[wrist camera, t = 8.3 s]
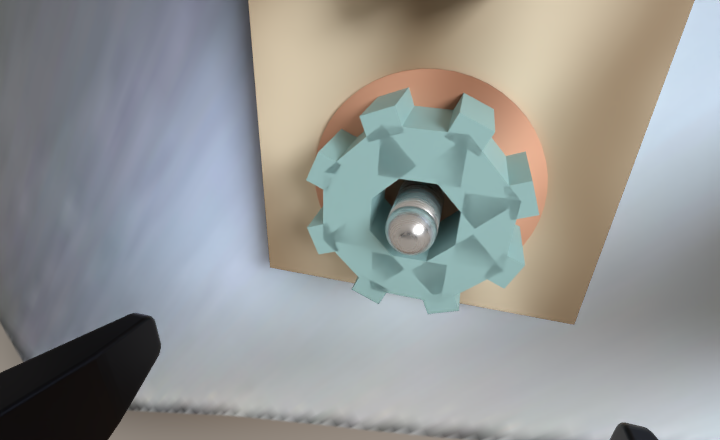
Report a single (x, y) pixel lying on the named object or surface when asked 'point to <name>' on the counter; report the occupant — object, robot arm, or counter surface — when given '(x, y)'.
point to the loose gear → (431, 165)
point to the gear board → (484, 83)
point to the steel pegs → (415, 217)
